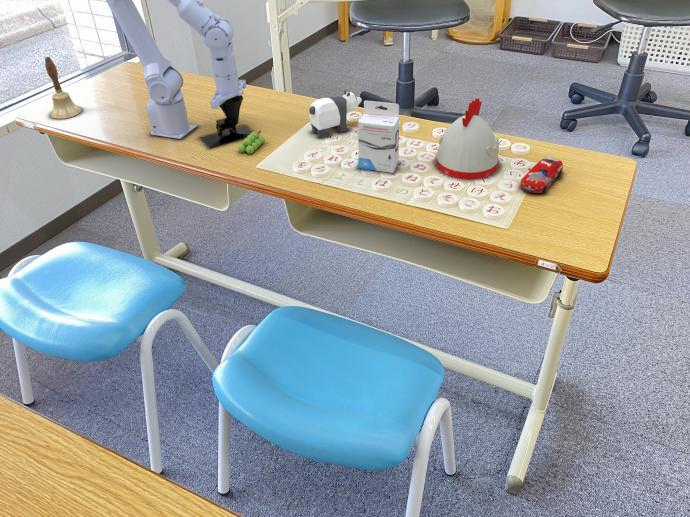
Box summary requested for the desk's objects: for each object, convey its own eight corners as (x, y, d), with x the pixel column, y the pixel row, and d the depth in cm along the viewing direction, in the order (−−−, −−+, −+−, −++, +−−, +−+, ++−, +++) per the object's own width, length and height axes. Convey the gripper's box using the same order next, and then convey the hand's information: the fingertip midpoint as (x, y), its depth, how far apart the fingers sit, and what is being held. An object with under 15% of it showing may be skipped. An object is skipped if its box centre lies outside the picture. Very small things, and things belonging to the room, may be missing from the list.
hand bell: (87, 110, 169) (69, 54, 159) (63, 121, 163) (43, 64, 154) (69, 105, 172) (50, 50, 163) (44, 115, 167) (23, 59, 157)
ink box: (357, 169, 136) (356, 108, 127) (363, 159, 139) (362, 99, 130) (393, 173, 133) (394, 112, 124) (399, 163, 137) (400, 103, 128)
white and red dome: (506, 158, 137) (515, 96, 128) (483, 184, 128) (490, 120, 119) (451, 145, 143) (456, 85, 134) (425, 169, 134) (429, 107, 125)
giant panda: (316, 140, 148) (314, 104, 142) (307, 132, 152) (304, 96, 146) (366, 126, 153) (366, 90, 148) (356, 118, 157) (355, 84, 152)
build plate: (210, 149, 147) (206, 132, 144) (199, 138, 152) (196, 121, 149) (255, 135, 152) (252, 118, 149) (244, 125, 157) (241, 109, 154)
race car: (539, 198, 123) (542, 182, 120) (515, 190, 126) (517, 174, 123) (566, 173, 131) (569, 157, 128) (543, 166, 133) (546, 150, 131)
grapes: (237, 153, 144) (235, 140, 142) (254, 138, 150) (252, 125, 148) (252, 155, 143) (250, 142, 141) (268, 140, 149) (266, 127, 147)
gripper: (224, 85, 138) (233, 138, 146) (253, 64, 149) (260, 114, 157) (198, 82, 140) (209, 134, 149) (229, 61, 151) (237, 111, 159)
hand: (233, 124), depth 153 cm, fingers closed
